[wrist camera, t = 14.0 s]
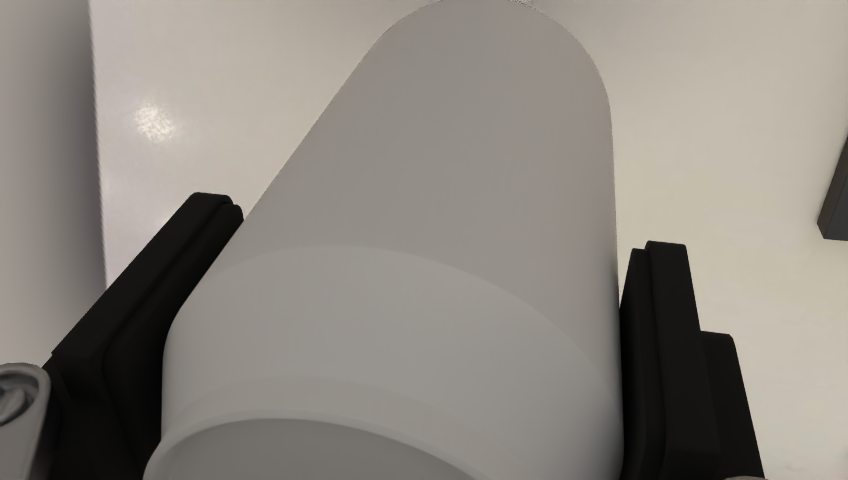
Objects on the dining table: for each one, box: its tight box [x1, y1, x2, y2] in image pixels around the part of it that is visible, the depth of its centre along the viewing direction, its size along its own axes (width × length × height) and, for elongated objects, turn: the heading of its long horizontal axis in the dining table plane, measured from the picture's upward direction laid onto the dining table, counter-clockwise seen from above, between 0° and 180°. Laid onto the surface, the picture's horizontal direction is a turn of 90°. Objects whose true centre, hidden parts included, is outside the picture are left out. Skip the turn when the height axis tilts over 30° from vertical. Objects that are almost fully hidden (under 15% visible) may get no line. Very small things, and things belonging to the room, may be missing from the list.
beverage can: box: [143, 0, 624, 480], centre depth 13 cm, size 6×6×12 cm
